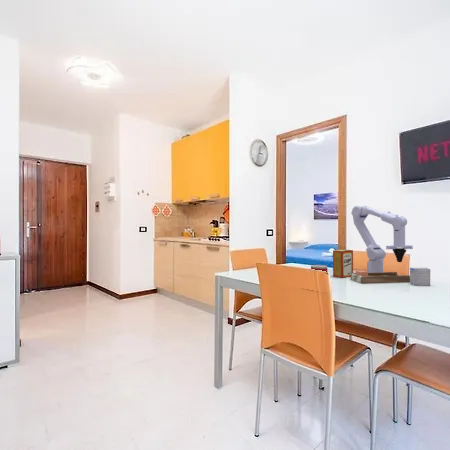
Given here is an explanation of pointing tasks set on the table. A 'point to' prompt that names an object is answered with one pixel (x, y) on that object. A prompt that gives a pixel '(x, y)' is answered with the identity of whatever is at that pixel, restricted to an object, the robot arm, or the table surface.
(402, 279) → the wooden frame
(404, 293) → the table surface
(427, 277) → the medicine box
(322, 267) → the canned food
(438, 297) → the table surface
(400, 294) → the table surface
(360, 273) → the block
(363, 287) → the table surface
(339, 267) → the baking soda box
